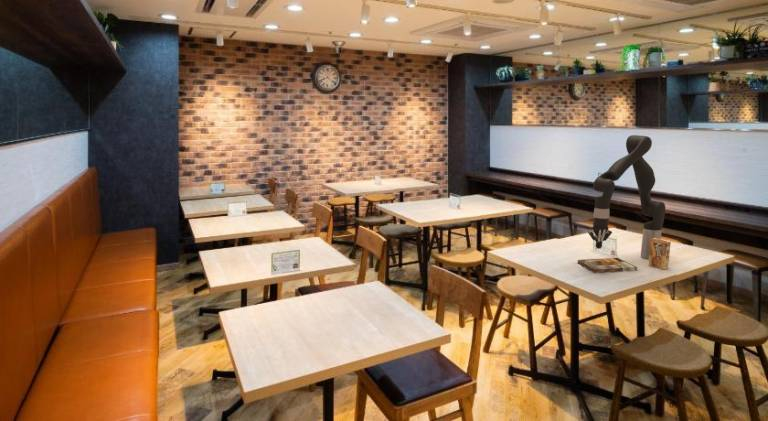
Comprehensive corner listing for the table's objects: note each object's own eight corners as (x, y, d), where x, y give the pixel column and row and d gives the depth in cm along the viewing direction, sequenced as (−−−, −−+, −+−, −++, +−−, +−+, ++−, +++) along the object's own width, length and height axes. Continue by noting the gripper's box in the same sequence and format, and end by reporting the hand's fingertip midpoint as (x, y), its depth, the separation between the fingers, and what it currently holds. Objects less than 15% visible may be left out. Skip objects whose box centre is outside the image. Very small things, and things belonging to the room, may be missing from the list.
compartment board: (617, 261, 273) (617, 255, 272) (636, 270, 256) (637, 264, 256) (577, 263, 270) (578, 257, 269) (594, 272, 253) (594, 266, 253)
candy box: (668, 268, 259) (671, 240, 256) (664, 269, 257) (667, 242, 254) (651, 264, 266) (654, 237, 263) (647, 265, 264) (650, 238, 261)
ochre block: (611, 263, 263) (611, 258, 262) (618, 266, 257) (618, 261, 256) (601, 263, 262) (601, 258, 261) (607, 267, 256) (608, 261, 255)
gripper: (608, 214, 258) (606, 246, 261) (585, 215, 256) (583, 247, 259) (617, 217, 250) (614, 249, 254) (593, 218, 249) (590, 250, 252)
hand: (598, 248), depth 256 cm, fingers closed
